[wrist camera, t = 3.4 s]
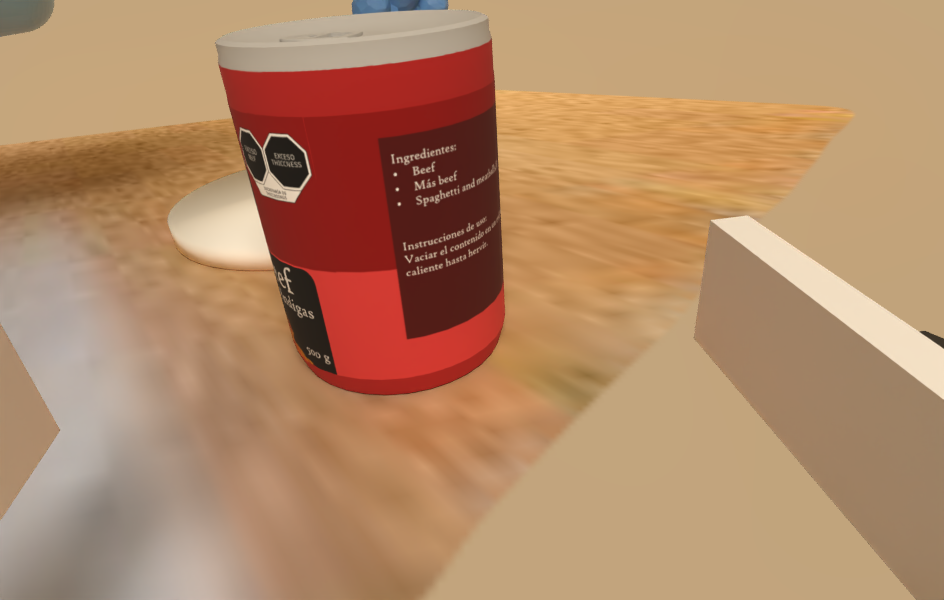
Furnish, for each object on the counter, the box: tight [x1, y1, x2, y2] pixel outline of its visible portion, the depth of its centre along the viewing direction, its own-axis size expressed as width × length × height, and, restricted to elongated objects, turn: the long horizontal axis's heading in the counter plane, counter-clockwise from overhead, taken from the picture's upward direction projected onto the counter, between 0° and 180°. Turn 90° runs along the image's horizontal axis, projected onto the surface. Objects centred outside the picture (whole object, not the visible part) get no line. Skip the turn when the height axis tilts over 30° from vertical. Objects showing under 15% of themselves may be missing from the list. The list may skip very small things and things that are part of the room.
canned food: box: [215, 10, 505, 395], centre depth 20 cm, size 8×8×11 cm
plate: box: [167, 170, 274, 271], centre depth 35 cm, size 15×15×1 cm
